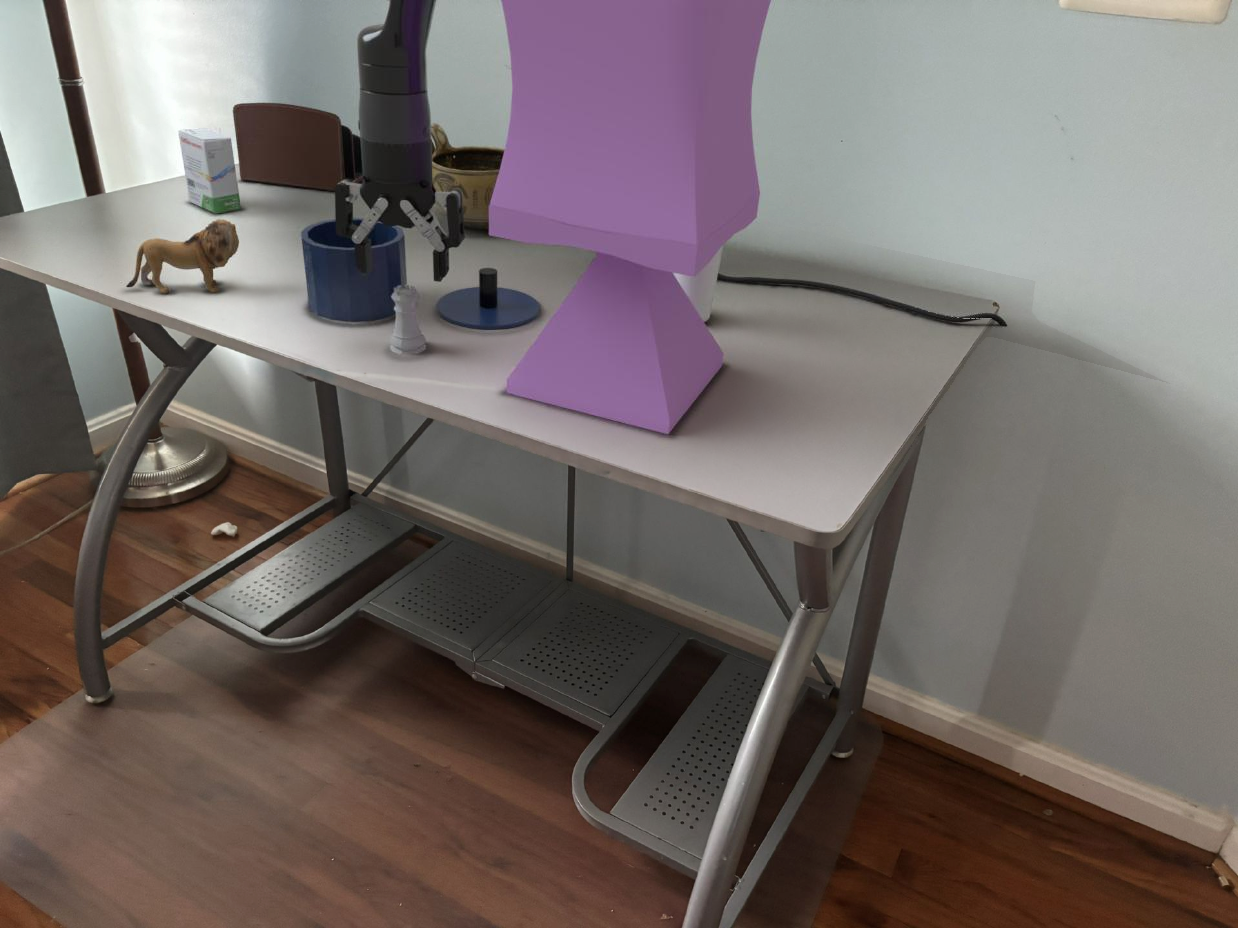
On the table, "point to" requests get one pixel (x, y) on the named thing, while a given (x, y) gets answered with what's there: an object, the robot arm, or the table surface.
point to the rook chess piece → (406, 323)
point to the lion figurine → (189, 254)
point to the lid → (488, 305)
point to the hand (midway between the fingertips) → (402, 276)
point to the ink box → (209, 170)
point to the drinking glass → (702, 285)
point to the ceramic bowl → (466, 175)
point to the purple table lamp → (628, 188)
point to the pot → (352, 272)
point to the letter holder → (295, 146)
